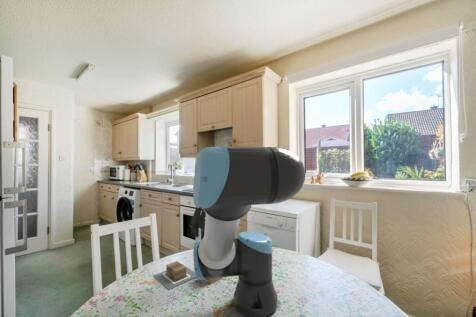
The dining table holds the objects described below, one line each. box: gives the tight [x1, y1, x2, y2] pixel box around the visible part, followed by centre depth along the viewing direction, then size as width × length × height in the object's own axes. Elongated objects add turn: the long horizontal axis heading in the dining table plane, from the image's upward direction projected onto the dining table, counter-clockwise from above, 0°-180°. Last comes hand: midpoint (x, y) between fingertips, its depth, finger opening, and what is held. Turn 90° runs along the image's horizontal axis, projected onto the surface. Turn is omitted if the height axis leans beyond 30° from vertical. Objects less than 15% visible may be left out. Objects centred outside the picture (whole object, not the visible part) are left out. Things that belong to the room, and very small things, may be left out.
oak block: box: [204, 278, 223, 285], centre depth 91 cm, size 6×6×6 cm
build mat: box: [152, 263, 197, 291], centre depth 92 cm, size 14×14×1 cm
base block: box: [165, 260, 187, 281], centre depth 92 cm, size 8×5×4 cm, turn 45°
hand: (211, 239), depth 91 cm, fingers open, 13 cm apart
